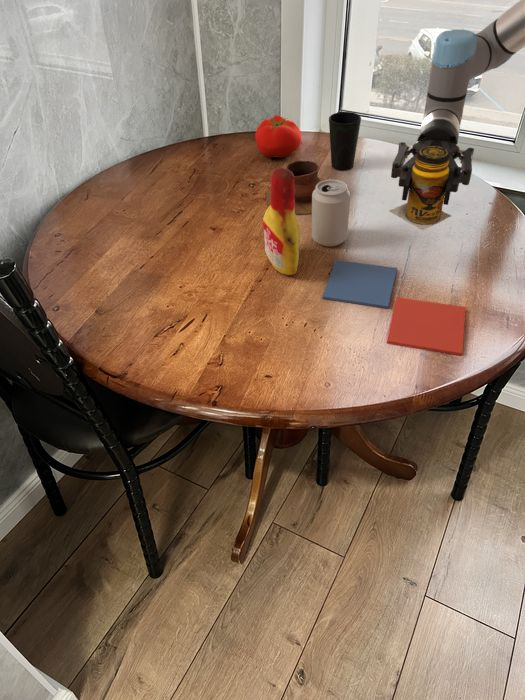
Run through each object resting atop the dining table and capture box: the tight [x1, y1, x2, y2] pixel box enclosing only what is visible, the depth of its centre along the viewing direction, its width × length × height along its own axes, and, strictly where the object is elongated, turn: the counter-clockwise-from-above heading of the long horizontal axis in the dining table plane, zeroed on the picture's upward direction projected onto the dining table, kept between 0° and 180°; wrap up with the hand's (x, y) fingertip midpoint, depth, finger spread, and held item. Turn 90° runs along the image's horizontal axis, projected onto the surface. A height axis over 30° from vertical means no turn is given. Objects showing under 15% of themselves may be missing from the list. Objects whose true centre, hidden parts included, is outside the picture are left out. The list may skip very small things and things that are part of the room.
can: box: [311, 179, 351, 248], centre depth 109 cm, size 8×8×12 cm
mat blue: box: [321, 259, 398, 310], centre depth 102 cm, size 12×12×1 cm
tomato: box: [254, 115, 303, 159], centre depth 142 cm, size 13×12×8 cm
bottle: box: [262, 167, 301, 276], centre depth 101 cm, size 12×6×20 cm, turn 12°
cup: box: [328, 111, 362, 172], centre depth 133 cm, size 8×8×12 cm
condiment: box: [388, 146, 452, 231], centre depth 93 cm, size 7×8×12 cm
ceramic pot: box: [264, 160, 325, 215], centre depth 125 cm, size 18×18×7 cm
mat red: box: [386, 296, 467, 356], centre depth 92 cm, size 12×12×1 cm
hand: (425, 194), depth 89 cm, fingers closed on condiment, 6 cm apart
